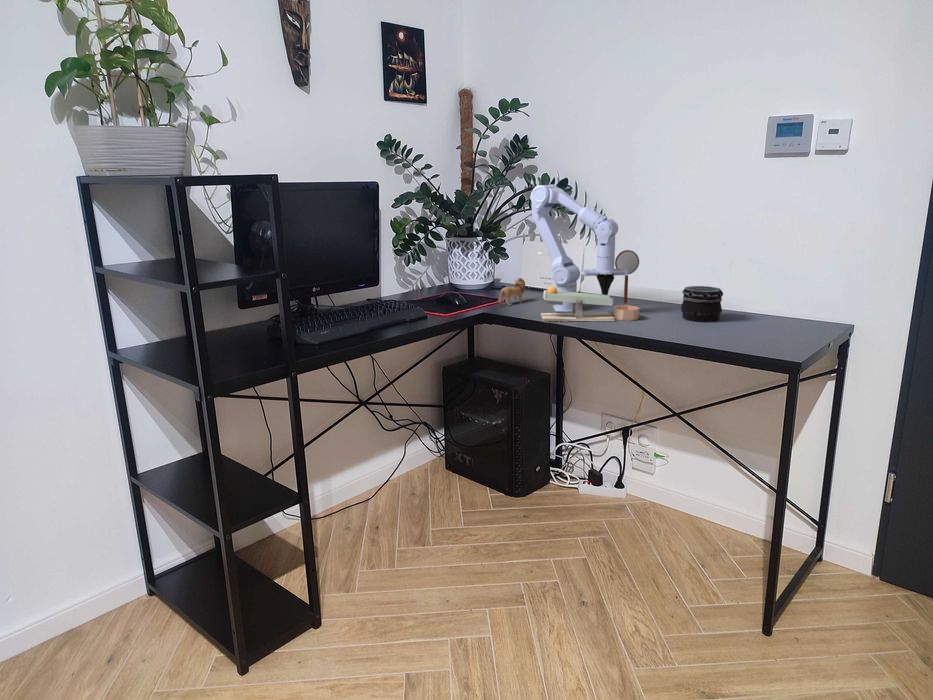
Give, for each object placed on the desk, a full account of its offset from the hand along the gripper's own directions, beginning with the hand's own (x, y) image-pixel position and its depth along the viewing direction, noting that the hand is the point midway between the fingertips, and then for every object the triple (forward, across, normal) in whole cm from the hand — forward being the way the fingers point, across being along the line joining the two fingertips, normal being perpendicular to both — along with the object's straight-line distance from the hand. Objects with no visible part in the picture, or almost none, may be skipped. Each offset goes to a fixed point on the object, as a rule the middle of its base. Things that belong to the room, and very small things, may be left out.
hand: (604, 296), depth 224 cm
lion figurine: (+6, -31, +20) cm, 37 cm away
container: (+6, +30, -8) cm, 32 cm away
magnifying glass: (+6, +10, +14) cm, 18 cm away
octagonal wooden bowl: (+6, +6, -7) cm, 11 cm away
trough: (+1, -10, -4) cm, 11 cm away
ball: (-3, -18, -7) cm, 20 cm away
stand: (+6, -10, -7) cm, 14 cm away
